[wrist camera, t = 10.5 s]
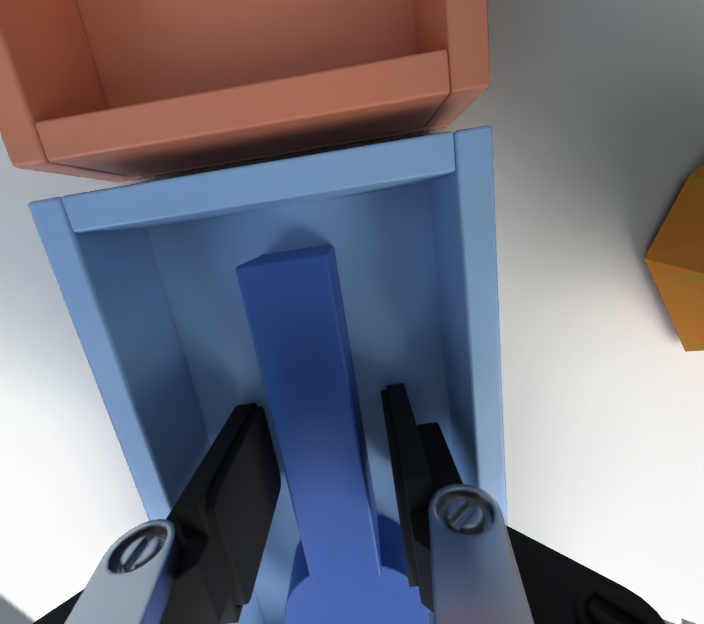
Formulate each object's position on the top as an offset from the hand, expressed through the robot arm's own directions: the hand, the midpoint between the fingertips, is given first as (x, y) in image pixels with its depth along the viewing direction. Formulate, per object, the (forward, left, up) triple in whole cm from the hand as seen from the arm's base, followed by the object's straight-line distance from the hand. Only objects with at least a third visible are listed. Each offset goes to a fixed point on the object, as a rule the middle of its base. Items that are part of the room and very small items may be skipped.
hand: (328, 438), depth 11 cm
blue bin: (0, -1, -1) cm, 1 cm away
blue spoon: (0, -1, 0) cm, 1 cm away
